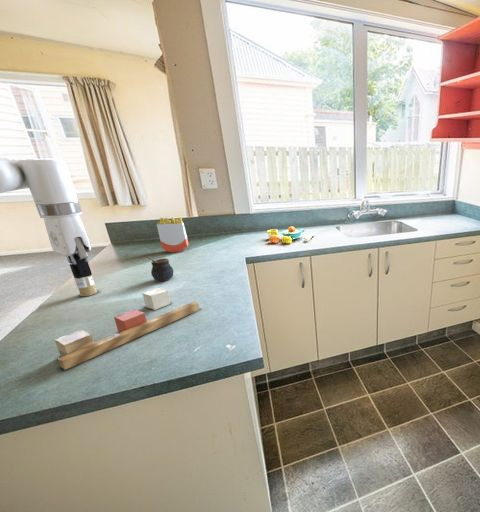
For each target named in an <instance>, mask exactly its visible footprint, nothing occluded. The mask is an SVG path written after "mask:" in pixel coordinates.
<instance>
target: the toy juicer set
mask: <svg viewBox="0 0 480 512" xmlns="http://www.w3.org/2000/svg"><path fill="white" fill-rule="evenodd" d="M266 232H267V236H268V241H269V243H273V244H277V243H279V242H280V240H281V243H283V244H291V243H292V242H293V241H295V240H297V239H298V238H300V236H301V234H302V233H305V228H295V227H294V226H293V225H292V226H289V227H288V228H287V229H284V230H281V232H280V234H281V235H282V237H281V238H280V235H278V233H279V231H278V229H275V228H274V229H268V230H267V231H266ZM312 233H313V234H312ZM312 233H311V234H308V235H306V236H305V237H304V238H303V241H304V242H309V241H310V240H311V239H312V237H313V236H315V235H316V234H315V233H316V232H312ZM293 238H295V239H293Z"/></svg>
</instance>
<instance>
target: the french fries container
mask: <svg viewBox="0 0 480 512" xmlns="http://www.w3.org/2000/svg"><path fill="white" fill-rule="evenodd" d="M156 227H157V233H158V236H159V241H160V245H161V249H163V250H164V251H166V252H167V253H180V252H183V251H184V250H185V249H186V248H187V247H188V246H189V240H188V235H187V232H186V227H185V223H184V222H183V219H182V217H178V218H175V217H174V216H171V220H170V219H168V217H165V218H164V217H159V221H158V222H157V224H156Z"/></svg>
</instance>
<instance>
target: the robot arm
mask: <svg viewBox="0 0 480 512" xmlns="http://www.w3.org/2000/svg"><path fill="white" fill-rule="evenodd" d="M25 189H29V191H30V194H31V196H32V200H33V202H34V205H35V207H36V211H37V213H38V215H39V217H40V219H43V220H44V225H45V229H46V233H47V236H48V239H49V242H50V243H49V244H50V247H51V250H52V251H53V252H55V253H57V254H60V255H62V256H65V257H66V260H67V263H68V262H69V263H70V264H69V263H68V266H69V268H70V271H71V273H72V276H73V278H74V277H75V278H77V279H80V278H83V277H87V276H91V275H93V273H92V269H91V267H90V264H89V261H88V258H89V256H88V253H89V252H91V250H92V246H91V243H90V239H89V237H88V234H87V231H86V229H85V226H84V223H83V221H82V219H81V217H80V216H81V215H83V210H82V207H81V205H80V202H79V198H78V195H77V192H76V188H75V185H74V183H73V180H72V177H71V174H70V170H69V167H68V165H67V163H66V162H65V161H64V160H61V159H59V158H26V159H16V158H7V157H0V194H2V193H7V192H12V191H13V192H14V191H18V190H25ZM71 263H72V264H71Z"/></svg>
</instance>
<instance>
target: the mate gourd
mask: <svg viewBox="0 0 480 512" xmlns="http://www.w3.org/2000/svg"><path fill="white" fill-rule="evenodd" d="M146 258H147V259H149V260H150V261H151V262H150V263H151V271H150V274H151V277H152V278H153V279H154V280H155V281H158V282H165V281H169V280H171V279H172V278H173V277H174V268H173V267H172V265H171V264H170V261H169V258H165V257H164V258H157V259H152V258H151V257H149V256H146Z"/></svg>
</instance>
